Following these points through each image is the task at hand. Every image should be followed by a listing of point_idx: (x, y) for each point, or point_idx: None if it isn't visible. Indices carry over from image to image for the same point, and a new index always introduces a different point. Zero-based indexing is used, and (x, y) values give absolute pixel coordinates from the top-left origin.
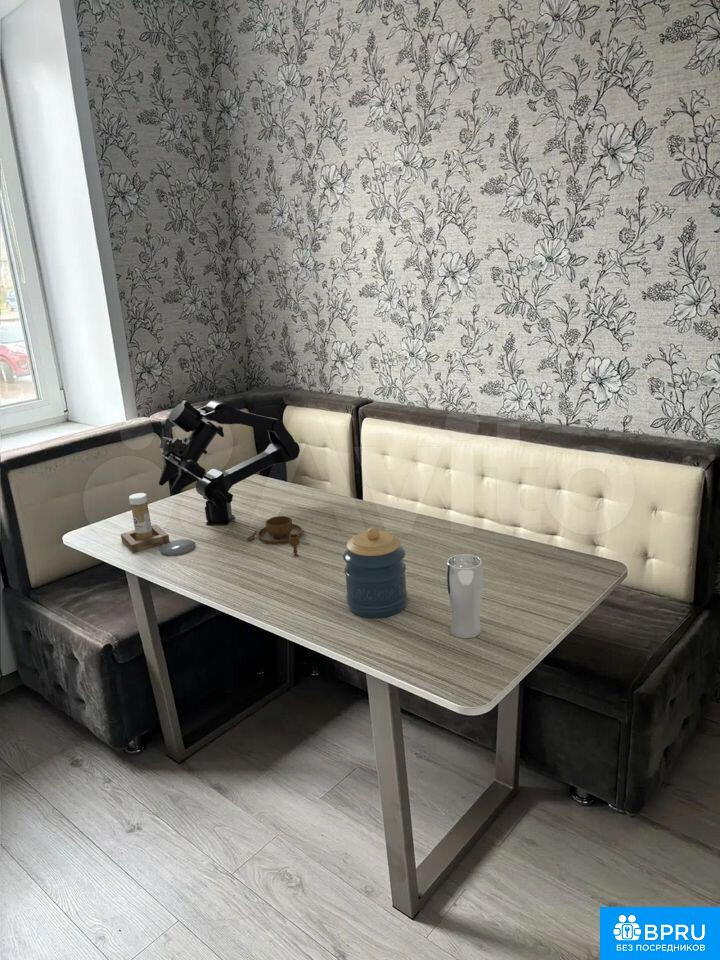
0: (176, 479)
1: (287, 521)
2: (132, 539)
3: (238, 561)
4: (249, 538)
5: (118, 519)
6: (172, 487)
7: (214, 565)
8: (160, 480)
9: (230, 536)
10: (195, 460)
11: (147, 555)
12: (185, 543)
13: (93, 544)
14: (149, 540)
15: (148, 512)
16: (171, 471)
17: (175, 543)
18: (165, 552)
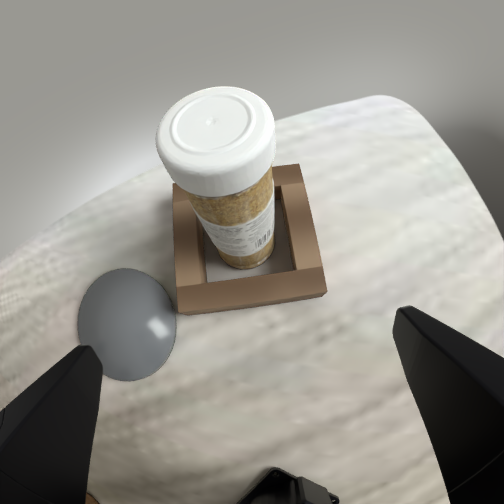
0: (12, 424)
1: None
2: None
3: (3, 405)
4: (89, 498)
5: (475, 204)
6: (56, 368)
7: (5, 357)
8: (415, 325)
9: (128, 481)
10: None
11: (134, 231)
12: (126, 352)
13: (317, 118)
14: (174, 239)
15: (208, 221)
16: (471, 465)
17: (145, 325)
18: (101, 277)
